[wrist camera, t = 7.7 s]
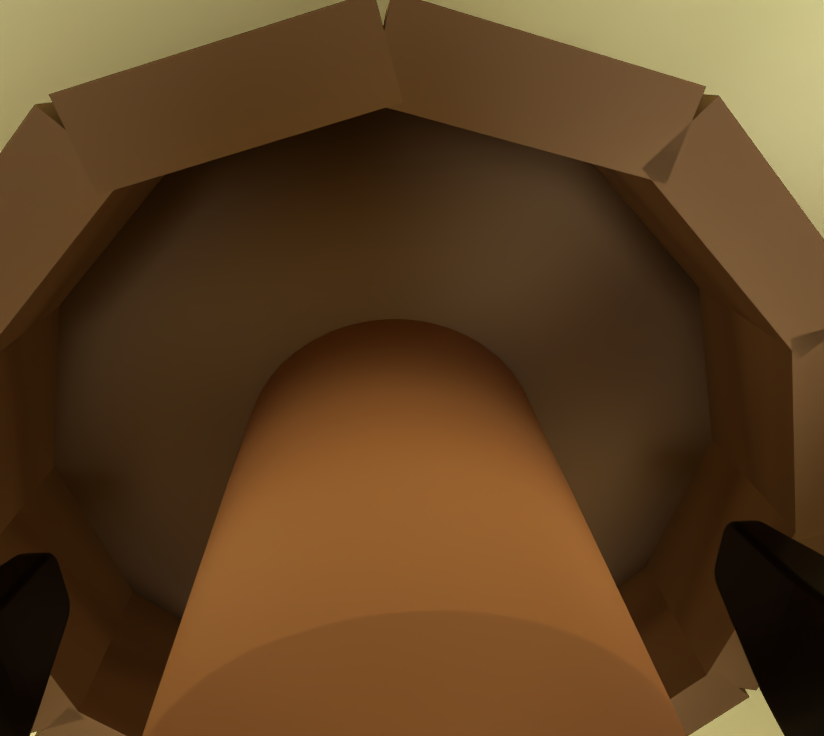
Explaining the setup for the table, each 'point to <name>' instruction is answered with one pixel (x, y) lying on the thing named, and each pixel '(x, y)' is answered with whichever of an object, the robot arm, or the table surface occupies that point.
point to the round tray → (398, 310)
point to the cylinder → (403, 563)
